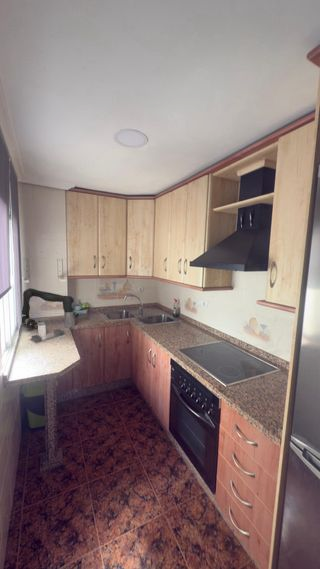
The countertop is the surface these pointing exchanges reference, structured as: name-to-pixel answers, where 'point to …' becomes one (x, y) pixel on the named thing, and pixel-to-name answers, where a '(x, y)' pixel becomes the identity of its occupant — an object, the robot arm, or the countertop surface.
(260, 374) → the countertop surface
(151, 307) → the countertop surface
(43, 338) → the mounting plate
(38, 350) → the countertop surface
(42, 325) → the grey module
